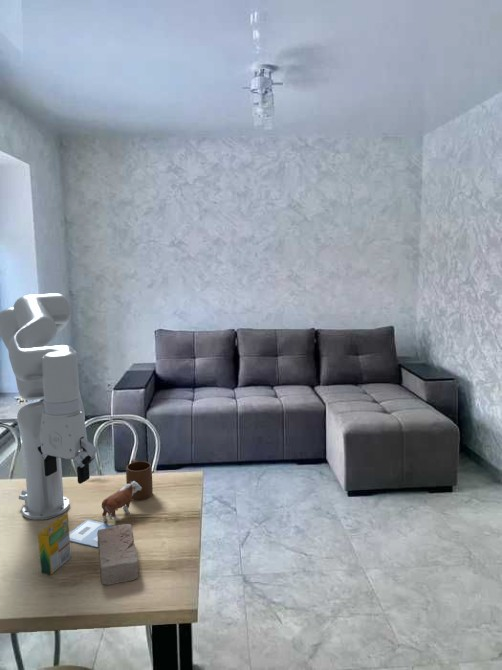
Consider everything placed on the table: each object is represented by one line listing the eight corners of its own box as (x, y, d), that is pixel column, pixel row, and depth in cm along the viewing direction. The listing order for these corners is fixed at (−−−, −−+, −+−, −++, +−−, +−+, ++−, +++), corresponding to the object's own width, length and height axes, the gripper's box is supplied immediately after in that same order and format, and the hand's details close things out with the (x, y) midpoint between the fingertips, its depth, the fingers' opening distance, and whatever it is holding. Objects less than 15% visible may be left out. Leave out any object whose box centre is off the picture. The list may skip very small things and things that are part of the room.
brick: (140, 578, 114) (139, 560, 114) (101, 586, 112) (100, 567, 111) (131, 539, 130) (131, 522, 129) (97, 545, 127) (96, 528, 126)
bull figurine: (144, 506, 147) (143, 480, 145) (108, 527, 136) (106, 499, 134) (134, 502, 149) (133, 476, 148) (97, 522, 138) (95, 494, 137)
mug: (121, 486, 159) (120, 458, 158) (145, 481, 162) (144, 454, 161) (130, 503, 149) (128, 473, 147) (155, 498, 152) (154, 468, 150)
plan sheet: (62, 539, 130) (62, 538, 130) (87, 520, 139) (87, 519, 139) (108, 550, 125) (108, 549, 125) (131, 529, 135) (131, 528, 134)
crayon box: (61, 554, 124) (58, 510, 122) (71, 557, 123) (68, 512, 121) (40, 572, 117) (36, 526, 115) (51, 575, 116) (47, 528, 114)
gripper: (20, 406, 114) (26, 477, 117) (81, 416, 108) (85, 491, 111) (46, 397, 121) (50, 465, 124) (104, 406, 115) (108, 477, 117)
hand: (67, 477), depth 117 cm, fingers open, 9 cm apart
